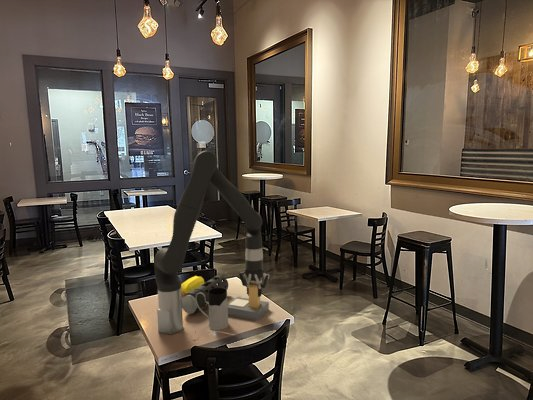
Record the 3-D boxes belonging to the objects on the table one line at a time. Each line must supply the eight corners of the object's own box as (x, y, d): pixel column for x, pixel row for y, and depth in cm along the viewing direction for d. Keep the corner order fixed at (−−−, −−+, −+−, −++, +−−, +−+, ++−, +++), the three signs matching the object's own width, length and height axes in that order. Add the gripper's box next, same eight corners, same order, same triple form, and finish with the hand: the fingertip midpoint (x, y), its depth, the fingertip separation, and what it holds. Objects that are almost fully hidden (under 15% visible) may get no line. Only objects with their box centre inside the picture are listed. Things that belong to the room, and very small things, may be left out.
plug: (257, 309, 165) (257, 285, 164) (249, 308, 166) (248, 284, 165) (260, 305, 169) (260, 282, 167) (251, 304, 170) (251, 281, 168)
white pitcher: (225, 331, 152) (224, 296, 150) (192, 328, 156) (190, 293, 154) (232, 322, 161) (231, 288, 159) (200, 319, 164) (199, 285, 162)
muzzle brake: (229, 295, 190) (228, 275, 189) (198, 318, 165) (197, 296, 163) (212, 293, 194) (212, 273, 192) (179, 315, 168) (178, 292, 167)
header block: (257, 321, 161) (257, 312, 160) (224, 315, 167) (224, 306, 167) (268, 310, 172) (268, 301, 171) (237, 305, 178) (237, 296, 178)
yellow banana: (175, 296, 190) (188, 298, 187) (175, 283, 189) (188, 285, 186) (195, 284, 206) (208, 286, 203) (195, 272, 205) (207, 274, 202)
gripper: (235, 259, 163) (236, 297, 165) (267, 261, 159) (267, 300, 161) (241, 254, 170) (242, 291, 172) (272, 256, 166) (272, 294, 168)
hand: (254, 295), depth 167 cm, fingers closed on plug, 4 cm apart
